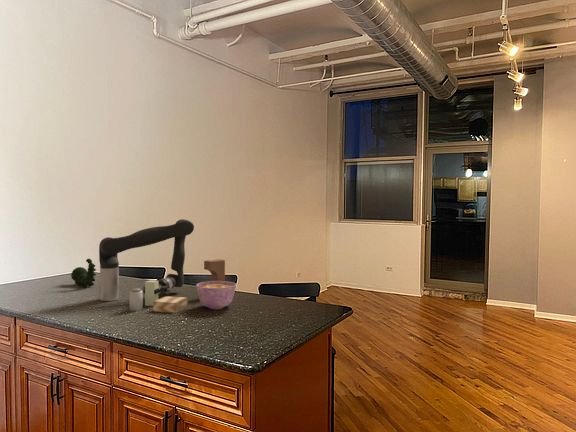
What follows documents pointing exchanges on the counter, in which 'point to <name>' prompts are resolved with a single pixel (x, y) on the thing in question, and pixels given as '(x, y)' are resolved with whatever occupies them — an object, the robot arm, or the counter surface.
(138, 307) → the ceramic jar
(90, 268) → the toy figurine
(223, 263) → the decorative block
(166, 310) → the maple block
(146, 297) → the sage block
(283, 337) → the counter surface
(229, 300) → the bowl of food
